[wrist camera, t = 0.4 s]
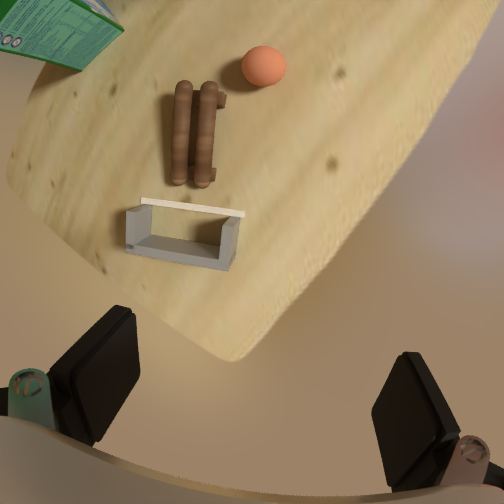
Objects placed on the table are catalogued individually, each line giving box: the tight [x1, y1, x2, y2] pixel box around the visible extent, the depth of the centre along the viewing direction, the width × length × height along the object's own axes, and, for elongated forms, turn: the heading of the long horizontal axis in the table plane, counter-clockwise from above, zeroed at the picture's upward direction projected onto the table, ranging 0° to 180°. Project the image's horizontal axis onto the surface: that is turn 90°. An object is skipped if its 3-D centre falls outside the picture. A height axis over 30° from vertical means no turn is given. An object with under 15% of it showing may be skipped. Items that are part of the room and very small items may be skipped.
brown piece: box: [171, 80, 227, 189], centre depth 32 cm, size 13×6×4 cm, turn 172°
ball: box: [241, 46, 286, 87], centre depth 29 cm, size 5×5×5 cm
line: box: [141, 197, 245, 218], centre depth 37 cm, size 1×14×1 cm, turn 82°
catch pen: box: [126, 204, 240, 272], centre depth 36 cm, size 5×13×5 cm, turn 82°
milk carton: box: [0, 0, 124, 72], centre depth 19 cm, size 9×9×25 cm
